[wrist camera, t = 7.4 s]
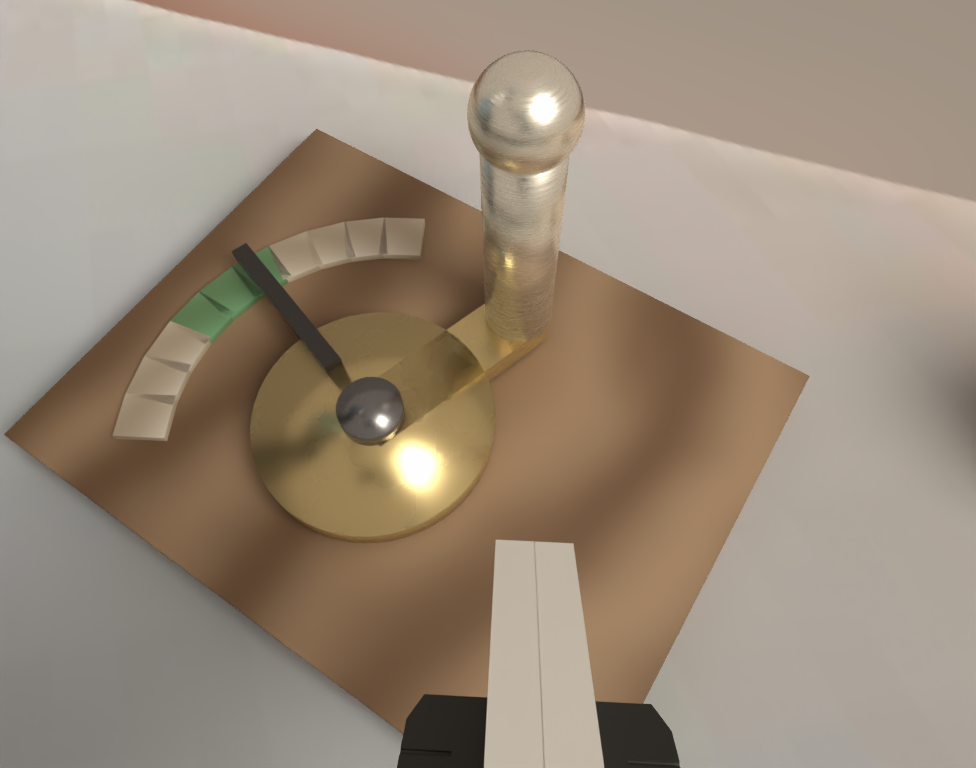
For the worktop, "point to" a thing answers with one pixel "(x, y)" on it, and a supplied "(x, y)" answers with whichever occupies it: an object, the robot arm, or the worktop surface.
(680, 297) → the worktop surface
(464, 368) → the dial
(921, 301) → the worktop surface
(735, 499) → the gauge board
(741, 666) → the worktop surface
